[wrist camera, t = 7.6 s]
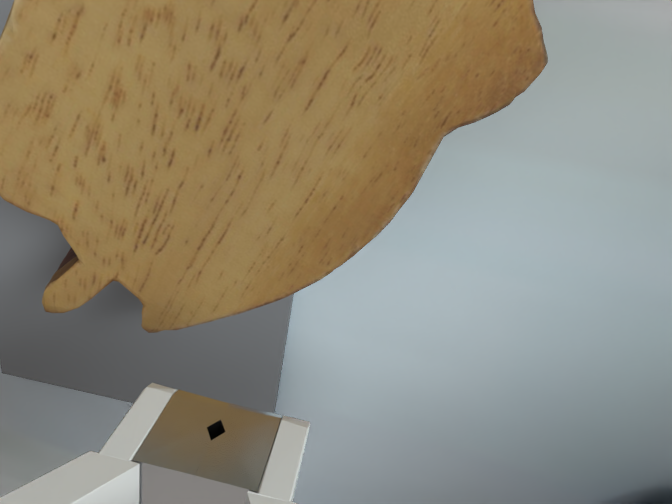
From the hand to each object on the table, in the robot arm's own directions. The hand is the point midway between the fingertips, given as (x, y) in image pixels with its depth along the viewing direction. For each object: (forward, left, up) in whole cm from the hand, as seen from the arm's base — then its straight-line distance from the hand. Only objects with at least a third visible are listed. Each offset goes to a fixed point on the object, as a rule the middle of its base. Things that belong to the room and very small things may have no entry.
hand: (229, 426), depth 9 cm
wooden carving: (-2, -1, -7) cm, 8 cm away
